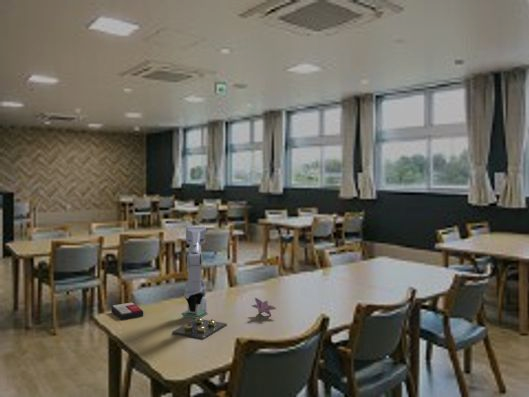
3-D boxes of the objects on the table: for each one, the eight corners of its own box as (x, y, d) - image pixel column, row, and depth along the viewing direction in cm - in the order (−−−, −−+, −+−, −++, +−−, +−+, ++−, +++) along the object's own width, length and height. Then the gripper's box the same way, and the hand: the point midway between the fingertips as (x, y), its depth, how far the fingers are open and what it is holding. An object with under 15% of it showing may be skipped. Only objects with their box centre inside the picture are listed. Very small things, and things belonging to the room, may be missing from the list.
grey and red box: (121, 313, 215) (111, 304, 227) (121, 322, 215) (111, 312, 227) (143, 309, 221) (132, 301, 233) (143, 318, 221) (132, 309, 233)
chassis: (197, 320, 215) (197, 312, 215) (226, 325, 209) (226, 317, 209) (172, 333, 197) (172, 324, 197) (203, 339, 191) (203, 330, 190)
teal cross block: (192, 309, 210) (192, 300, 210) (209, 312, 206) (209, 302, 206) (178, 316, 200) (178, 306, 199) (196, 318, 196) (196, 309, 196)
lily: (278, 321, 219) (280, 301, 223) (260, 316, 212) (262, 296, 216) (262, 323, 227) (264, 304, 231) (244, 318, 220) (246, 298, 225)
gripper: (195, 276, 210) (195, 305, 211) (178, 283, 197) (177, 313, 198) (208, 277, 208) (208, 306, 208) (191, 284, 194) (191, 315, 195)
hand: (194, 310), depth 203 cm, fingers closed on teal cross block, 3 cm apart
